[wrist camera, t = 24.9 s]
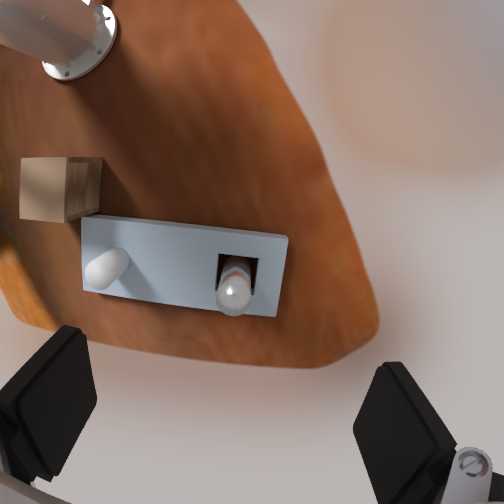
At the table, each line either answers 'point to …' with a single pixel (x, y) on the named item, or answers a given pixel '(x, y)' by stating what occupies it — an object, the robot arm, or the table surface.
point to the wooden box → (59, 188)
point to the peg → (234, 287)
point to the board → (176, 261)
